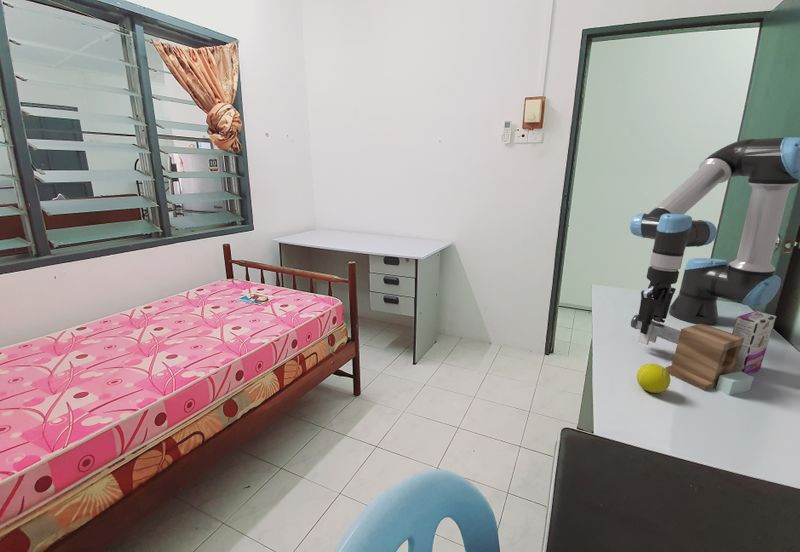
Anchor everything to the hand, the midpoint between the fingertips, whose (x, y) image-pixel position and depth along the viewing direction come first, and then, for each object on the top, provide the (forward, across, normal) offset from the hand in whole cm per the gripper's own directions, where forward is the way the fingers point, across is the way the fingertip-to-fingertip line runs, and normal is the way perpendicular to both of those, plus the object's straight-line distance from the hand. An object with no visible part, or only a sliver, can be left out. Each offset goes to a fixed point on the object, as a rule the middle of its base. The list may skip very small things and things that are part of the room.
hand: (646, 341), depth 118 cm
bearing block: (+3, 0, +15) cm, 16 cm away
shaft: (-3, 0, +6) cm, 7 cm away
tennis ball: (+3, +21, +14) cm, 26 cm away
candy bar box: (+3, -15, +18) cm, 24 cm away
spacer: (+1, 0, +22) cm, 22 cm away
